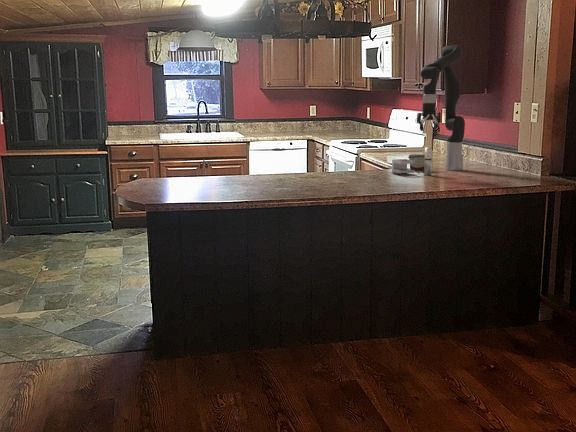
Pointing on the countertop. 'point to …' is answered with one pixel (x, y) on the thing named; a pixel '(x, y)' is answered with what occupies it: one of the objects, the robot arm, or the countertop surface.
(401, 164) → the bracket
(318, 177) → the countertop surface
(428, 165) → the tube
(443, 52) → the robot arm
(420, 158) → the food container
